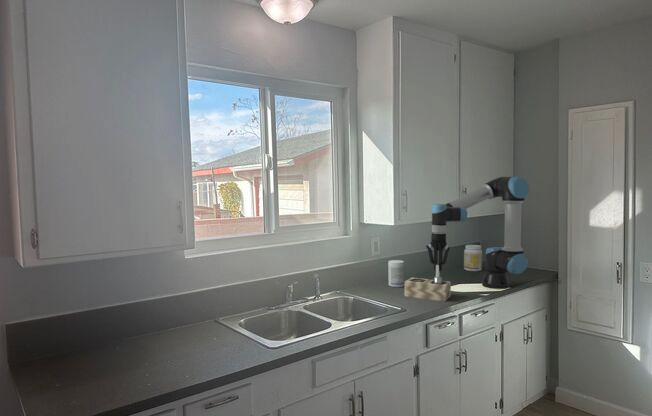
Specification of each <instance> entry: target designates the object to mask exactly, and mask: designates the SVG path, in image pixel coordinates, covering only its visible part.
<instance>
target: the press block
mask: <svg viewBox="0 0 652 416" xmlns="http://www.w3.org/2000/svg"><path fill="white" fill-rule="evenodd" d="M414 280H421V282H420V281H414ZM451 286H452V283H451V281H447V280H442V284H438V283H434V279H428V278H419V277H410V278H408V279H406V280H405V285H404V293H403V294H404V295H403V296H404V297H408V298H415V299H423V300H424V299H425V300H430V301H439V302H446V301H448V299H449V298H450V297H452V295H451V291H452V289H451Z"/></svg>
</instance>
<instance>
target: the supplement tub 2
mask: <svg viewBox="0 0 652 416" xmlns="http://www.w3.org/2000/svg"><path fill="white" fill-rule="evenodd" d="M482 269H483V250H482V245H480V244H479V245H478V244H466V245H465V249H464V251H463V270H465V271H469V272H480V271H482Z"/></svg>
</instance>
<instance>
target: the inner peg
mask: <svg viewBox="0 0 652 416" xmlns="http://www.w3.org/2000/svg"><path fill="white" fill-rule="evenodd" d="M433 280H434V283H438V284H442V281H443V278H442V276H440V277H436V276H434V277H433Z"/></svg>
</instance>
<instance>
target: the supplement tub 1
mask: <svg viewBox="0 0 652 416" xmlns="http://www.w3.org/2000/svg"><path fill="white" fill-rule="evenodd" d="M387 267H388V268H387V269H388V270H387V271H388V274H387V275H388V278H387V279H388V280H387V281H388V286H389V287H392V288H403V287H405V281H406V280H405V273H406V272H405V270H406V269H405V268H406V266H405V261H404V260H401V259H393V260H388V265H387Z"/></svg>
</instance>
